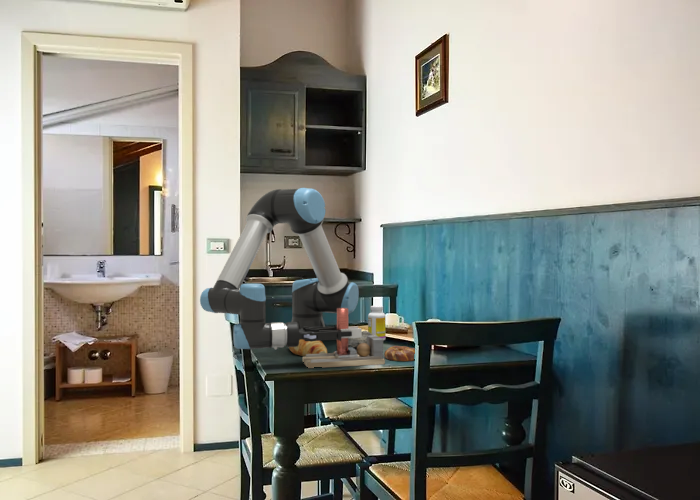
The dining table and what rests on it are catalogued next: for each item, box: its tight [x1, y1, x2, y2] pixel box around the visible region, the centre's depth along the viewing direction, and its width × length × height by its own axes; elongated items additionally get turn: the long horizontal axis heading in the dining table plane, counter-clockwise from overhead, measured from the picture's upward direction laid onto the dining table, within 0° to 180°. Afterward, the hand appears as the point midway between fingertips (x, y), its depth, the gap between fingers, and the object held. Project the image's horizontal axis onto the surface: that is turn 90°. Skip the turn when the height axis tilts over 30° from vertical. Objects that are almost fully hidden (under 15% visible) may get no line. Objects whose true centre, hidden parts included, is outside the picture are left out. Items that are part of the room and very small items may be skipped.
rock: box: [348, 330, 373, 350], centre depth 208 cm, size 13×9×6 cm, turn 139°
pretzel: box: [383, 345, 416, 362], centre depth 194 cm, size 12×11×4 cm
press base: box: [302, 335, 386, 369], centre depth 187 cm, size 10×24×8 cm, turn 104°
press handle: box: [333, 308, 358, 358], centre depth 187 cm, size 7×6×15 cm
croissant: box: [288, 339, 328, 357], centre depth 201 cm, size 21×10×8 cm, turn 41°
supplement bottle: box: [367, 305, 387, 341], centre depth 228 cm, size 7×7×13 cm
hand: (359, 331), depth 188 cm, fingers closed on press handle, 4 cm apart
